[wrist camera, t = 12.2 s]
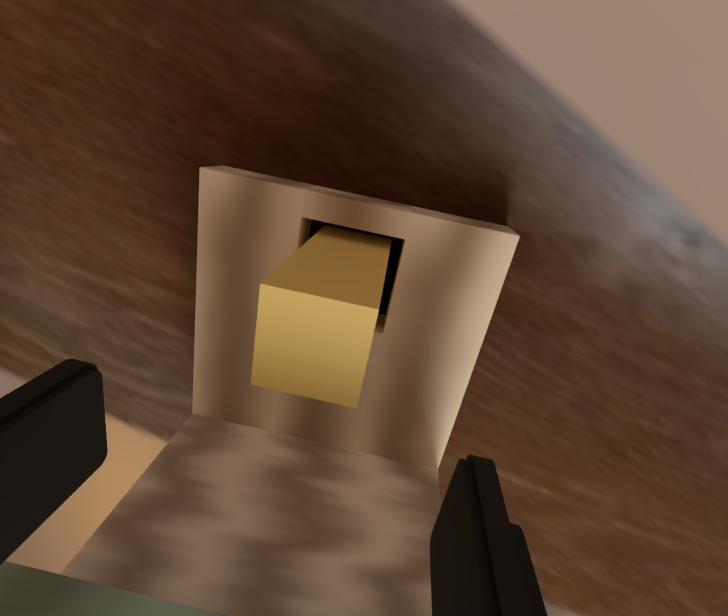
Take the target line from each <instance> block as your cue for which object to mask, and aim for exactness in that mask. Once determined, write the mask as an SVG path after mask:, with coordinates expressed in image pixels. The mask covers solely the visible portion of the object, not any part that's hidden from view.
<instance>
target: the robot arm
mask: <svg viewBox="0 0 728 616" xmlns="http://www.w3.org/2000/svg"><path fill="white" fill-rule="evenodd" d="M106 456H107V438H106V424H105V410H104V396H103V382H102V374H101V373H100V372H99V371H98V369H97V367H96V365H95V364H92V363H88V362H84V361H80V360H76V359H67V360H65V361H63V362H61V363H60V364H58V365H56V366H55V367H53V368H51V369H49V370H48V371H46V372H44V373H43V374H41V375H39V376H38V377H36V378H34V379H32V380H31V381H29V382H27V383H26V384H24V385H22V386H21V387H19V388H17V389H15V390H14V391H12V392H11V393H9V394H7V395H5V396H4V397H2V398H1V399H0V565H1V564H2V563H3V562H4V561H5V560H6V559H7V558H8V557H9V556H10V555H11V554H12V553H13V552H14V551H15V550H16V549H17V548H18V547H19V546H20V545H21V544H22V543H23V542H24V541H25V540H26V539H27V538H28V537H29V536H30V535H31V534H32V533H33V532H34V531H35V530H36V529H37V528H38V527H39V526H40V525H41V524H42V523H43V522H44V521H45V520H46V519H47V518H48V517H49V516H50V515H51V514H52V513H53V512H55V511H56V509H58V508H59V507H60V505H62V504H63V503H64V501H66V500H67V499H68V498H69V496H71V495H72V494H73V493H74V492H75V491H76V490H77V489H78V488H79V487H80V486H81V485H82V484H83V483H84V482H85V481H86V480H87V479H88V478H89V477H90V476H91V475H92V474H93V473H94V472H95V471H96V470H97V469H98V468H99V467H100V466H101V465H102V463H103V462H104V460H105V458H106ZM430 574H431V601H432V616H547V613H546V609H545V606H544V602H543V599H542V596H541V592H540V589H539V585H538V582H537V578H536V575H535V571H534V568H533V564H532V561H531V557H530V554H529V550H528V547H527V543H526V540H525V536H524V534H523V531H522V529H521V528H520V527H519V525H515V524H511V523H510V522H509V519H508V515H507V511H506V507H505V503H504V499H503V495H502V491H501V487H500V484H499V480H498V476H497V472H496V468H495V464H494V462H493V461H492V460H491V459H486V458H482V457H478V456H474V455H468V456H467V458H466V460H465V459H459V461H458V463H457V466H456V468H455V471H454V474H453V476H452V479H451V482H450V485H449V487H448V490H447V493H446V495H445V498H444V501H443V503H442V506H441V509H440V511H439V514H438V517H437V519H436V522H435V525H434V528H433V530H432V533H431V538H430Z"/></svg>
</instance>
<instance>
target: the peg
mask: <svg viewBox="0 0 728 616" xmlns="http://www.w3.org/2000/svg"><path fill="white" fill-rule="evenodd" d="M391 242H392V240H391V239H387V238H382V237H377V236H373V235H368V234H363V233H359V232H354V231H349V230H345V229H340V228H335V227H331V226H326V225H325V226H324V227H323V228H321V229H320V230H319V231H318V232H317V233H316V234H315V235H314V236H312V237H311V238H310V239H309V240H308V241H307V242H306V243H305V244H304V245H302V246H301V247H300V248H299V249H298V250H297V251H296V252H295V253H294V254H292V255H291V256H290V257H289V258H288V259H287V260H286V261H285V262H284V263H282V264H281V265H280V266H279V267H278V268H277V269H276V270H275V271H273V272H272V273H271V274H270V275H269V276H268V277H267V278H266V279H265V280H263V281H262V282H261V283H260V290H259V300H258V311H257V322H256V332H255V343H254V354H253V364H252V375H251V385H255V386H260V387H264V388H269V389H273V390H277V391H282V392H286V393H291V394H295V395H300V396H304V397H308V398H313V399H317V400H322V401H326V402H331V403H335V404H339V405H344V406H348V407H353V408H357V405H358V401H359V396H360V392H361V387H362V383H363V378H364V374H365V370H366V365H367V361H368V356H369V352H370V347H371V343H372V339H373V334H374V330H375V325H376V321H377V316H378V312H379V307H380V302H381V296H382V291H383V285H384V280H385V274H386V269H387V263H388V258H389V253H390V247H391Z"/></svg>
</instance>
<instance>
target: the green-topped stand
mask: <svg viewBox="0 0 728 616" xmlns="http://www.w3.org/2000/svg"><path fill="white" fill-rule="evenodd" d="M312 219H313V220H318V221H322V222H327V223H332V224H336V225H341V226H345V227H350V228H355V229H359V230H364V231H368V232H373V233H378V234H382V235H387V236H392V237H396V238H401V239H403V243H402V247H401V252H400V256H399V260H398V264H397V269H396V273H395V277H394V281H393V286H392V290H391V294H390V298H389V303H388V307H387V311H386V315H384V314H380V313H378V316H377V321H376V325H375V330H374V334H373V339H372V343H371V347H370V352H369V356H368V361H367V365H366V370H365V374H364V378H363V383H362V387H361V392H360V396H359V401H358V405H357V408H353V407H348V406H344V405H339V404H335V403H331V402H326V401H322V400H317V399H313V398H308V397H304V396H300V395H295V394H291V393H286V392H282V391H277V390H273V389H269V388H264V387H260V386H255V385H251V375H252V364H253V354H254V343H255V332H256V322H257V311H258V300H259V290H260V283H261V282H262V281H263V280H265V279H266V278H267V277H268V276H269V275H270V274H271V273H272V272H273V271H275V270H276V269H277V268H278V267H279V266H280V265H281V264H282V263H284V262H285V261H286V260H287V259H288V258H289V257H290V256H291V255H292V254H294V253H295V252H296V251H297V250H298V249H299V248H300V247H301V246H302V245H304V244H305V243H306V242H307V241H308V240H309V237H310V230H311V223H312ZM519 237H520V236H519V235H518V234H516V233H515V232H514V231H513V230H511V229H510V228H509V227H507V226H503V225H499V224H494V223H489V222H485V221H480V220H475V219H471V218H466V217H461V216H457V215H452V214H447V213H443V212H438V211H433V210H429V209H424V208H419V207H415V206H410V205H405V204H401V203H396V202H391V201H387V200H382V199H377V198H373V197H368V196H363V195H359V194H354V193H349V192H345V191H340V190H335V189H331V188H326V187H321V186H317V185H312V184H307V183H303V182H298V181H293V180H289V179H284V178H279V177H275V176H270V175H265V174H261V173H256V172H251V171H247V170H242V169H237V168H233V167H228V166H210V167H200V174H199V208H198V242H197V276H196V310H195V344H194V379H193V413H192V414H191V416H190V417H189V418H188V419H187V420H186V422H185V423H184V424H183V425H182V427H181V428H180V429H179V430H178V431H177V433H176V434H175V435H174V436H173V437H172V439H171V440H170V441H169V442H168V444H167V445H166V446H165V447H164V448H163V450H162V451H161V452H160V453H159V455H158V456H157V457H156V458H155V460H154V461H153V462H152V463H151V464H150V466H149V467H148V468H147V469H146V470H145V472H144V473H143V474H142V475H141V477H140V478H139V479H138V480H137V481H136V482H135V484H134V485H133V486H132V487H131V489H130V490H129V491H128V492H127V493H126V495H125V496H124V497H123V498H122V500H121V501H120V502H119V503H118V504H117V506H116V507H115V508H114V509H113V510H112V512H111V513H110V514H109V515H108V517H107V518H106V519H105V521H103V523H102V524H101V525H100V526H99V528H98V529H97V530H96V531H95V533H94V534H93V535H92V536H91V537H90V539H89V540H88V541H87V542H86V543H85V545H84V546H83V547H82V548H81V549H80V551H79V552H78V553H77V554H76V555H75V557H74V558H73V559H72V560H71V562H70V563H69V564H68V565H67V567H66V568H65V569H64V570H63V571H62V572H61V574H56V573H52V572H47V571H44V570H39V569H35V568H31V567H27V566H23V565H19V564H14V563H10V562H6V561H4V562H3V563H2V564H1V565H0V616H432V601H431V574H430V538H431V533H432V530H433V528H434V525H435V522H436V519H437V517H438V514H439V511H440V509H441V500H440V489H439V478H438V467H439V464H440V462H441V459H442V456H443V453H444V450H445V447H446V445H447V442H448V439H449V436H450V433H451V430H452V428H453V425H454V422H455V419H456V416H457V413H458V410H459V408H460V405H461V402H462V399H463V396H464V393H465V391H466V388H467V385H468V382H469V379H470V376H471V374H472V371H473V368H474V365H475V362H476V359H477V356H478V354H479V351H480V348H481V345H482V342H483V339H484V337H485V334H486V331H487V328H488V325H489V322H490V320H491V317H492V314H493V311H494V308H495V305H496V302H497V300H498V297H499V294H500V291H501V288H502V285H503V283H504V280H505V277H506V274H507V271H508V268H509V266H510V263H511V260H512V257H513V254H514V251H515V249H516V246H517V243H518V240H519Z"/></svg>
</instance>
